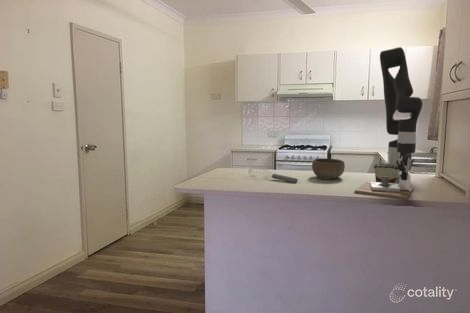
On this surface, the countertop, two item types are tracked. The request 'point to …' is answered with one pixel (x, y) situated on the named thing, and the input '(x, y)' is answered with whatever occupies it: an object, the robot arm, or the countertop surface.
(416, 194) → the countertop surface
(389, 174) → the food container
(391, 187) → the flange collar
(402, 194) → the post board
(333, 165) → the bowl
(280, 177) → the kitchen whisk
